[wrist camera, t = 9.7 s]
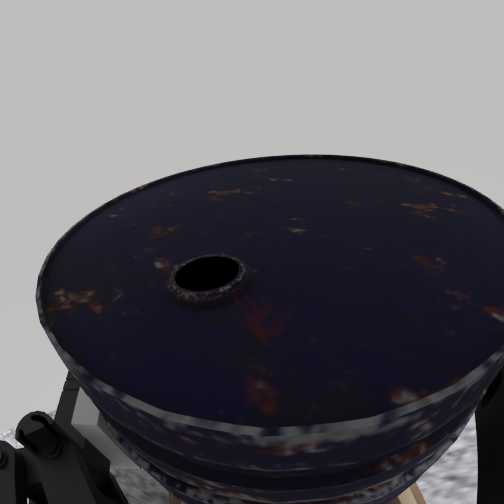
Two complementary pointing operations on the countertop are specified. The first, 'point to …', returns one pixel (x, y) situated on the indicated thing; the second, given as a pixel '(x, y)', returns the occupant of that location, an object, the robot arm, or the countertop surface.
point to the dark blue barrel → (283, 324)
